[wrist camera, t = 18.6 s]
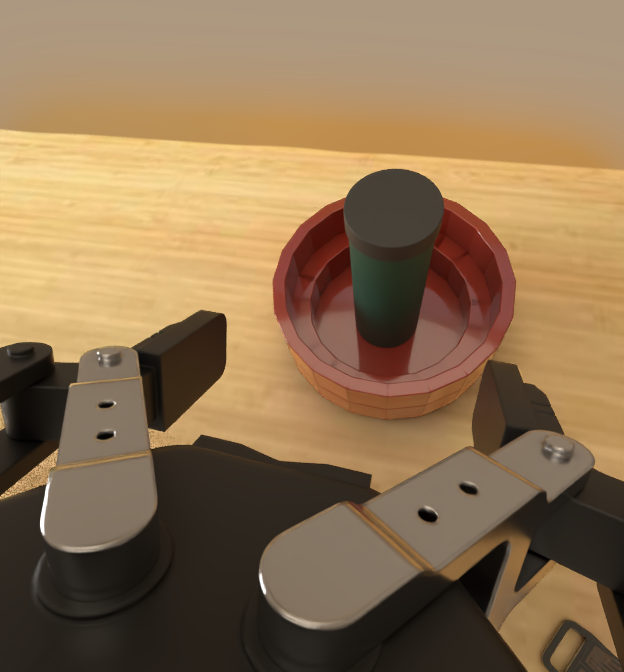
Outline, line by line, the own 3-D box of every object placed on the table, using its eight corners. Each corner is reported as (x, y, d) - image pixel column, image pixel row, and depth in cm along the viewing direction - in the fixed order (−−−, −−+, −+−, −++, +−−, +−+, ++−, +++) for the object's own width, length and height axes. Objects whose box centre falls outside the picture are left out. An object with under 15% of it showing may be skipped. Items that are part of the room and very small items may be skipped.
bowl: (499, 254, 34) (522, 200, 29) (480, 442, 29) (505, 420, 23) (314, 231, 37) (304, 178, 32) (266, 397, 32) (244, 368, 26)
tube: (424, 296, 33) (450, 172, 22) (414, 355, 31) (437, 253, 20) (360, 287, 34) (354, 164, 22) (347, 343, 32) (333, 240, 21)
